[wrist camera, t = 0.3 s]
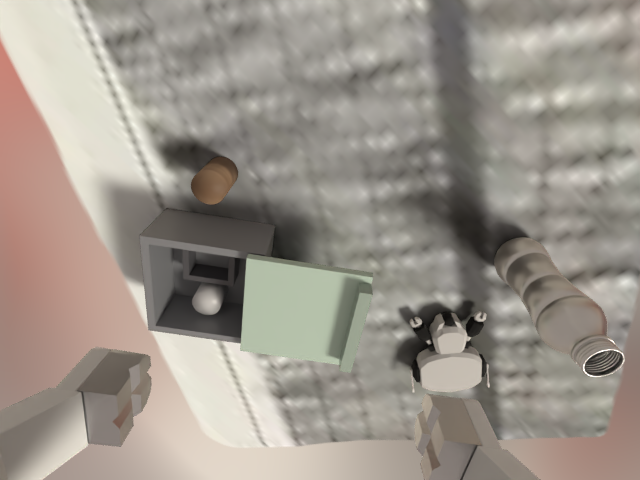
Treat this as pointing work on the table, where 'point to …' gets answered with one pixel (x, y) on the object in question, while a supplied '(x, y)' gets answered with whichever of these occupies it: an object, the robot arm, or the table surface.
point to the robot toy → (449, 354)
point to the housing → (199, 272)
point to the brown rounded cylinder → (214, 180)
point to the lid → (304, 310)
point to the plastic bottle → (558, 307)
